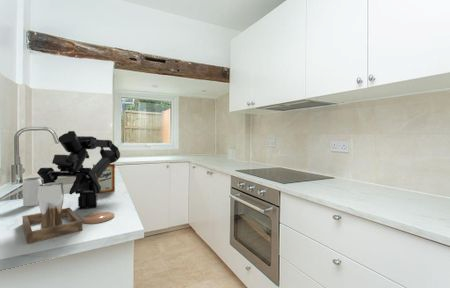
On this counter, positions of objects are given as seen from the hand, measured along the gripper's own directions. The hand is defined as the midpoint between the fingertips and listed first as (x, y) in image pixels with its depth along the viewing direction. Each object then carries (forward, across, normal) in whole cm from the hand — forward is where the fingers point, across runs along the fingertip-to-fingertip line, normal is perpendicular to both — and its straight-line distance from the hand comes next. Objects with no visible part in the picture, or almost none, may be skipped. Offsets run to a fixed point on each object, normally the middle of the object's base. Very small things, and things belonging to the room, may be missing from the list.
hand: (56, 193), depth 80 cm
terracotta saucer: (+4, +12, +12) cm, 17 cm away
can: (-9, -26, +24) cm, 37 cm away
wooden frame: (+10, 0, +6) cm, 11 cm away
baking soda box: (-26, -6, +42) cm, 49 cm away
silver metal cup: (+10, 0, +6) cm, 11 cm away
